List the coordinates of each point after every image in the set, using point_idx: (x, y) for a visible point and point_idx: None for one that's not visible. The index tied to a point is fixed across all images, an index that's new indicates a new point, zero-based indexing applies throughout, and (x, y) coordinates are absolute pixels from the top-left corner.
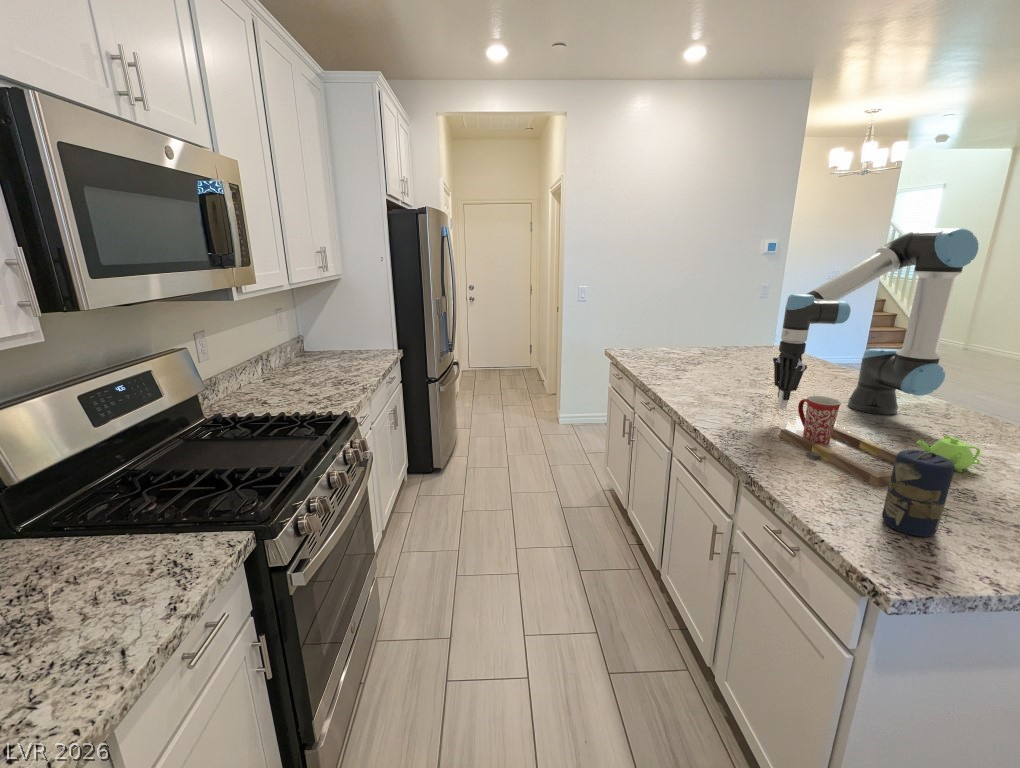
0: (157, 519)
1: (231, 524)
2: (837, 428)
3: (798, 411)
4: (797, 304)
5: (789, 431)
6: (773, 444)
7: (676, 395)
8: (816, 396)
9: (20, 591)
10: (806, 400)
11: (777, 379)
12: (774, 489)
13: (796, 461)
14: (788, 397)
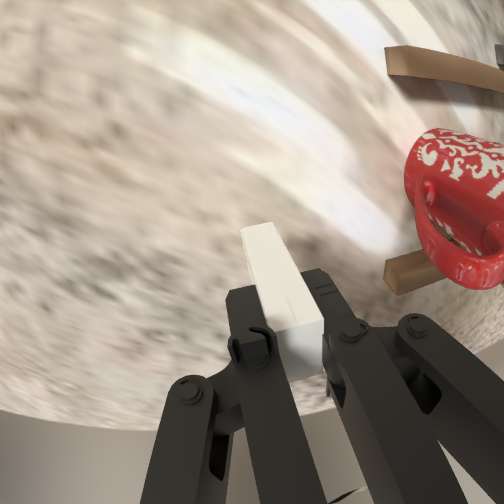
0: (339, 498)
1: (352, 491)
2: (441, 57)
3: (423, 248)
4: None
5: (418, 274)
6: (413, 312)
7: (12, 395)
8: None
9: (368, 489)
10: (501, 280)
11: (226, 477)
12: (485, 345)
13: (475, 296)
14: (332, 292)
